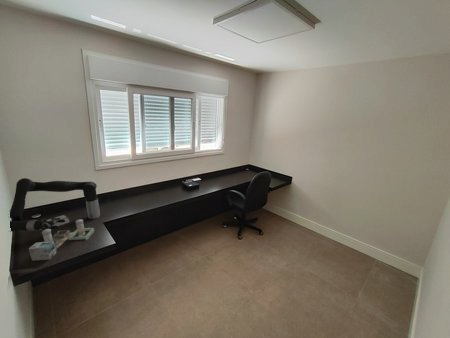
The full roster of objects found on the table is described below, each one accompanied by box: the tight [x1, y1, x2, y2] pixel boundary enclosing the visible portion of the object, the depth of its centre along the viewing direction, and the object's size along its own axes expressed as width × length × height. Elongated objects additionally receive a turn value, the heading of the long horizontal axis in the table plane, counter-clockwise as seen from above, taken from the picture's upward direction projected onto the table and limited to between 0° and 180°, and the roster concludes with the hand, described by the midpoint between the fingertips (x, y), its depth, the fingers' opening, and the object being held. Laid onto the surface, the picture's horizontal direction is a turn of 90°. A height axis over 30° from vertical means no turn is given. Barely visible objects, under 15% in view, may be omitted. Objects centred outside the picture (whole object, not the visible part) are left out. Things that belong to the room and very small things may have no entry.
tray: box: [67, 227, 95, 242], centre depth 153 cm, size 12×12×4 cm
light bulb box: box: [28, 241, 57, 262], centre depth 128 cm, size 11×7×11 cm, turn 100°
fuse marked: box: [75, 219, 86, 237], centre depth 151 cm, size 5×5×13 cm
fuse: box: [41, 229, 53, 242], centre depth 136 cm, size 5×5×13 cm
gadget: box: [45, 215, 71, 227], centre depth 168 cm, size 23×15×4 cm, turn 53°
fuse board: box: [52, 229, 75, 251], centre depth 144 cm, size 21×12×4 cm, turn 9°
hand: (61, 223), depth 148 cm, fingers open, 8 cm apart
